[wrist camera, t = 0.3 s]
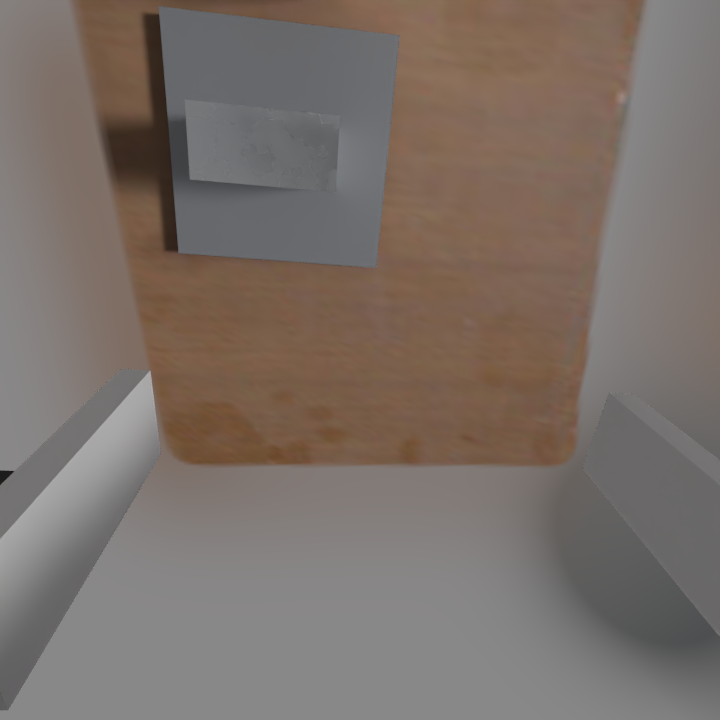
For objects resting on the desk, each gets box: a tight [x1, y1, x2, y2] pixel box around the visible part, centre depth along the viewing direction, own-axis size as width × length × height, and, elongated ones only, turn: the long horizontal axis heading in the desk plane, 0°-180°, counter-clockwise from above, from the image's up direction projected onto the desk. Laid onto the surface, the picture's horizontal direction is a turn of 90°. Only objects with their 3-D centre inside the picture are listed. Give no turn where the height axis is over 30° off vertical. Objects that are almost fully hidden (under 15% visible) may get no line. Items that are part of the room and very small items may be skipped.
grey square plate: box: [159, 6, 400, 268], centre depth 29 cm, size 16×16×10 cm
